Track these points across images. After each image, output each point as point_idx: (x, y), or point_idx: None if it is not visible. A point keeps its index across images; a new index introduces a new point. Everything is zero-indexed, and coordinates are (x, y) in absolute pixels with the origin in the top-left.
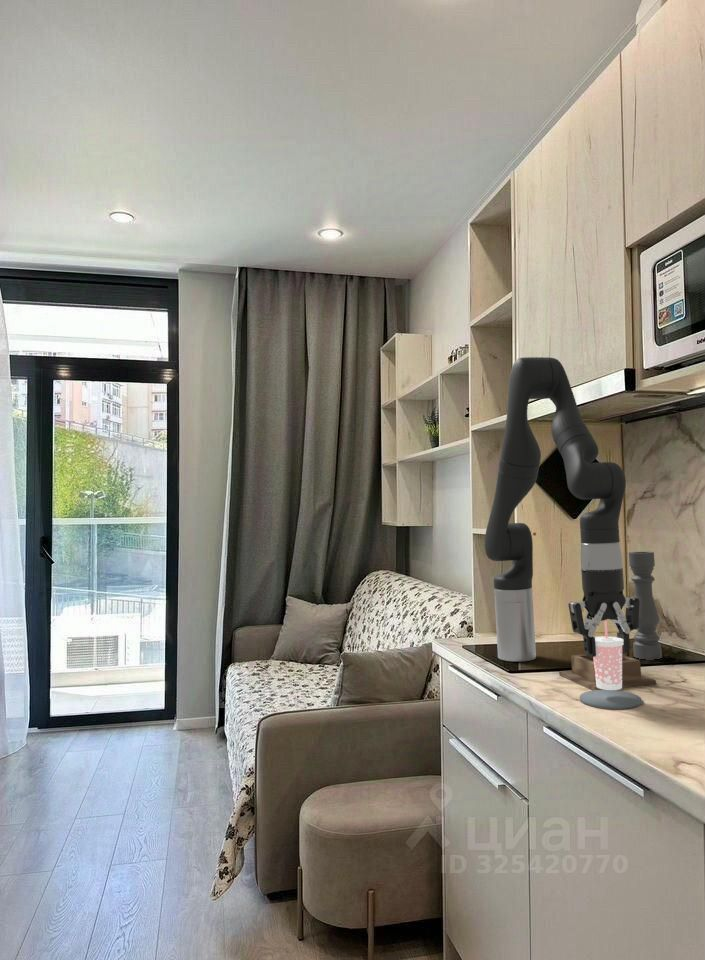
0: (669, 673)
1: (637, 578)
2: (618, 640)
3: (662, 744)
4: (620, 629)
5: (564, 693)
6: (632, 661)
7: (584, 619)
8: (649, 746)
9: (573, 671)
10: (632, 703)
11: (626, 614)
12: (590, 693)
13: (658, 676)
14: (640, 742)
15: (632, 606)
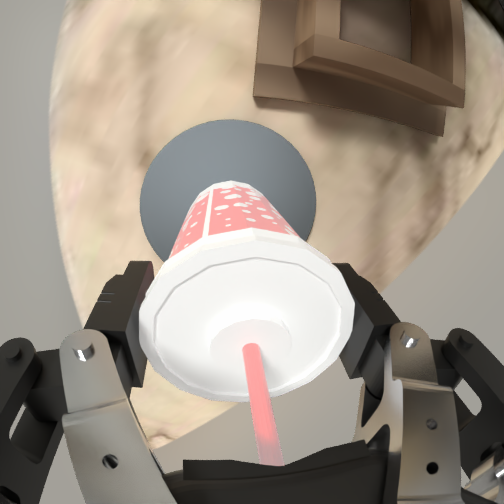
0: (494, 94)
1: None
2: (300, 364)
3: (171, 410)
4: (379, 368)
5: (147, 83)
6: (445, 98)
7: (65, 429)
8: (151, 409)
9: None
10: None
11: (490, 400)
12: (200, 147)
13: (473, 92)
14: (146, 400)
15: (468, 488)
